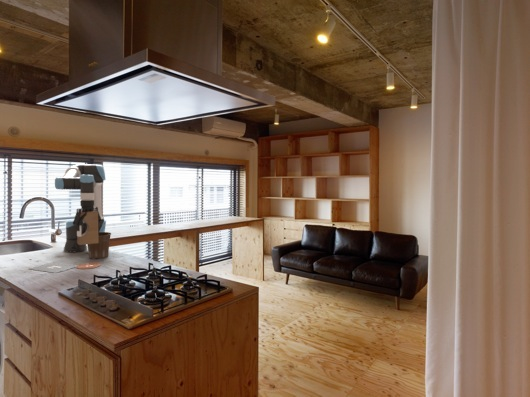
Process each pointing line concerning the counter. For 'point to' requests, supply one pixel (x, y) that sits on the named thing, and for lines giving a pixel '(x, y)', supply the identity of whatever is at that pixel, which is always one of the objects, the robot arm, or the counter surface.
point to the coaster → (88, 265)
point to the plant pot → (100, 246)
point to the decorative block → (89, 229)
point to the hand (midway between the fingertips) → (87, 234)
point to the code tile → (54, 267)
